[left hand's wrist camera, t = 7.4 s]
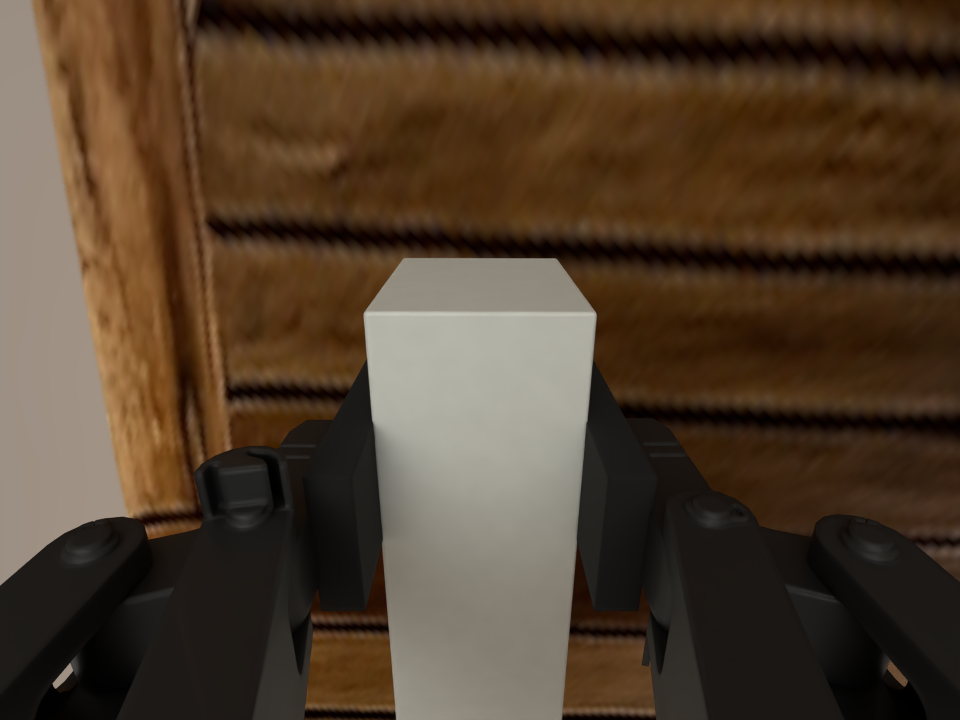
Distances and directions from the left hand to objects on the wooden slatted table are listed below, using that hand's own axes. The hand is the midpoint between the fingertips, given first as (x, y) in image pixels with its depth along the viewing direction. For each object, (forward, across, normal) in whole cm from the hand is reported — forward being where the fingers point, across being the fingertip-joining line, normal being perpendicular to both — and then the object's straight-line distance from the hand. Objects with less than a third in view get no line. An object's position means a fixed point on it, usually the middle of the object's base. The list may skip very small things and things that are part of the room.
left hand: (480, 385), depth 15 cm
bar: (0, 0, +8) cm, 9 cm away
